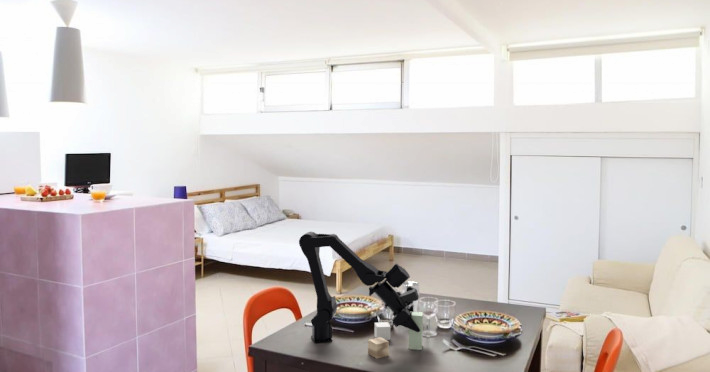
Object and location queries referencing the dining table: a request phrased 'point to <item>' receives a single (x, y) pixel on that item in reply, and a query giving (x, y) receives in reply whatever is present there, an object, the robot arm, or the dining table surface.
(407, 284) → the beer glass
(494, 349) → the dining table surface
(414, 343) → the sage block
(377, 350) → the oak cube
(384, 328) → the white cube
